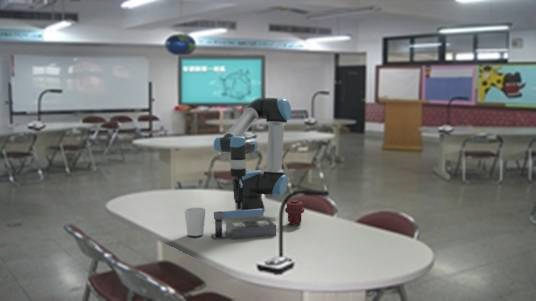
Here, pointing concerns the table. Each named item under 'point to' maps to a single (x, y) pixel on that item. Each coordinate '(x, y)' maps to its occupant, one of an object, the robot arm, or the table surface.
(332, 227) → the table surface
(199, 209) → the cup
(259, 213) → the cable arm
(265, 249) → the table surface
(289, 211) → the mechanical component
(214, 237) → the pivot post
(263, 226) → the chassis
